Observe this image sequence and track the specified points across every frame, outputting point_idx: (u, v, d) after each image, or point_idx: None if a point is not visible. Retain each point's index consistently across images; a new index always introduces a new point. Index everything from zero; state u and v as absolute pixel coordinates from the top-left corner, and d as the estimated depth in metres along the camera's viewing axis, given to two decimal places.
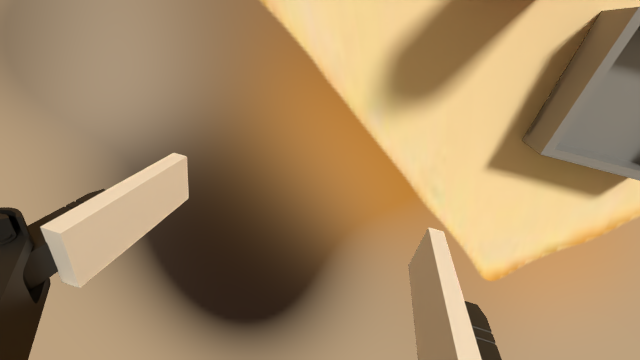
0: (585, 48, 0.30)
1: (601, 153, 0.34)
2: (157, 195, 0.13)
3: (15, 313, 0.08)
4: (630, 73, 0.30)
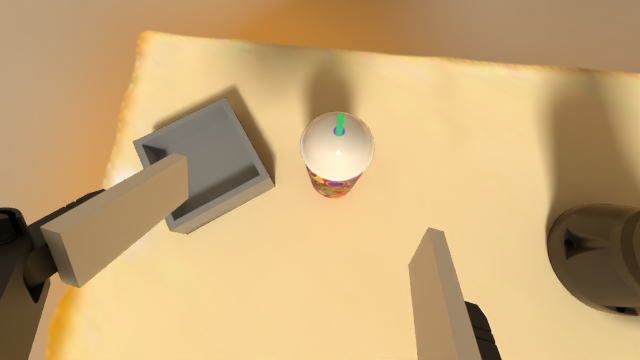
0: None
1: (187, 139, 0.45)
2: (157, 195, 0.13)
3: (15, 313, 0.08)
4: (227, 176, 0.43)
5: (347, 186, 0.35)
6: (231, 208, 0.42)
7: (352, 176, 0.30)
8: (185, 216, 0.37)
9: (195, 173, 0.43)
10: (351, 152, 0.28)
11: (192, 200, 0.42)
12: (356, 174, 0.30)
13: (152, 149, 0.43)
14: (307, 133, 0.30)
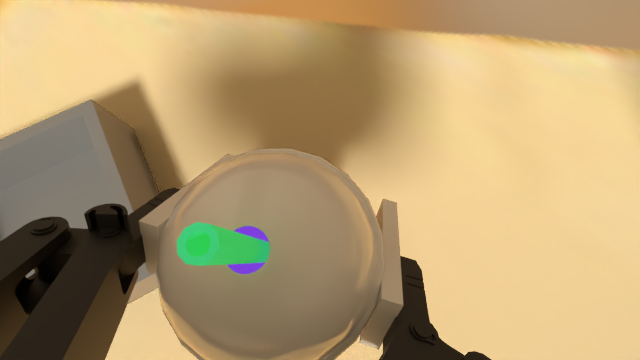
0: None
1: (33, 176, 0.24)
2: None
3: (107, 304, 0.08)
4: None
5: None
6: None
7: None
8: None
9: None
10: (298, 331, 0.07)
11: None
12: None
13: None
14: (165, 227, 0.09)
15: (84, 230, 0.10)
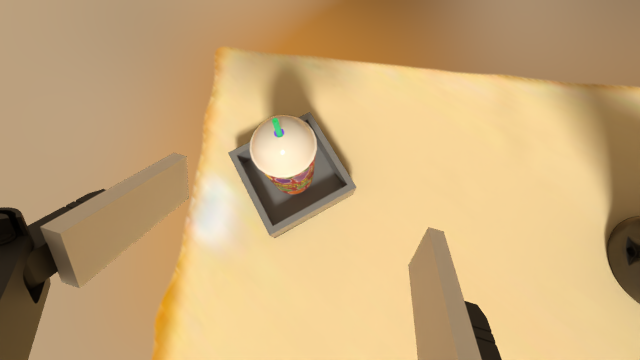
0: None
1: None
2: (157, 195, 0.13)
3: (15, 313, 0.08)
4: None
5: (297, 183, 0.38)
6: (315, 214, 0.46)
7: (294, 173, 0.33)
8: (282, 222, 0.41)
9: None
10: (290, 152, 0.31)
11: (279, 206, 0.46)
12: (298, 172, 0.33)
13: (241, 159, 0.46)
14: (254, 134, 0.33)
15: None
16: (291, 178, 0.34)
